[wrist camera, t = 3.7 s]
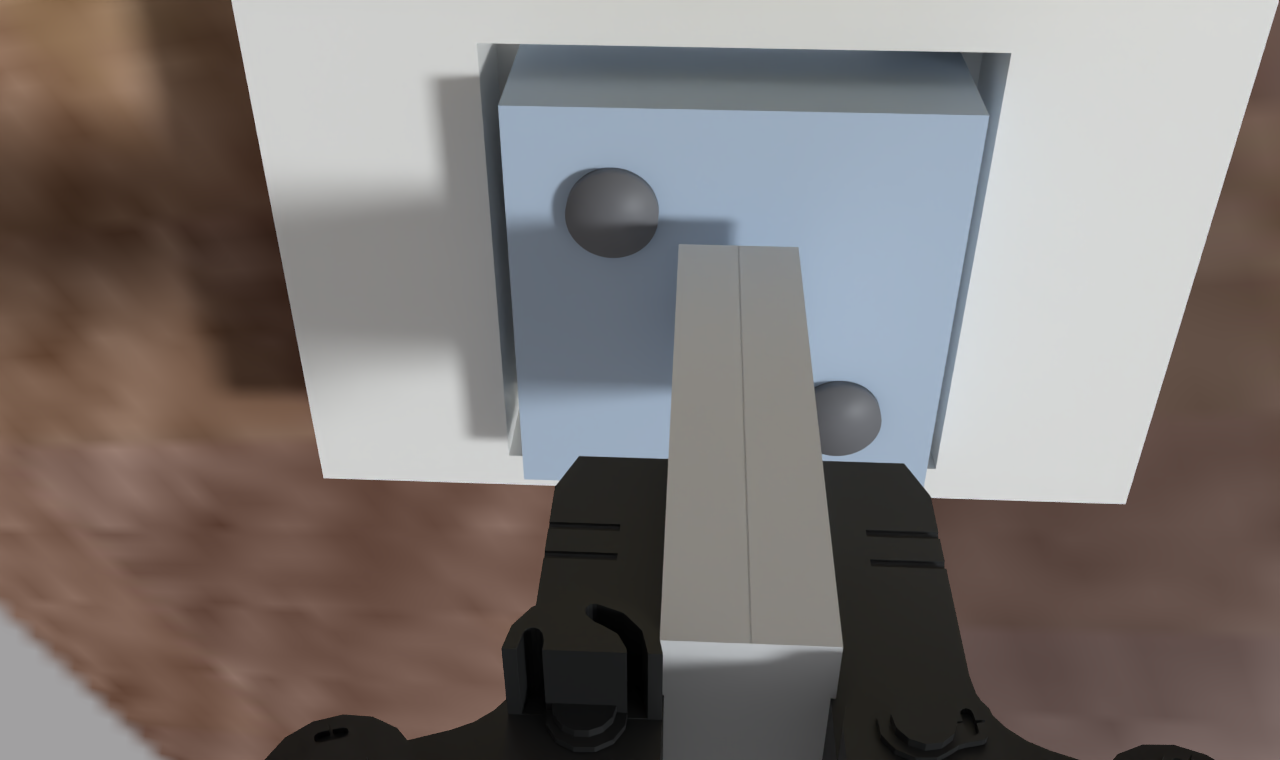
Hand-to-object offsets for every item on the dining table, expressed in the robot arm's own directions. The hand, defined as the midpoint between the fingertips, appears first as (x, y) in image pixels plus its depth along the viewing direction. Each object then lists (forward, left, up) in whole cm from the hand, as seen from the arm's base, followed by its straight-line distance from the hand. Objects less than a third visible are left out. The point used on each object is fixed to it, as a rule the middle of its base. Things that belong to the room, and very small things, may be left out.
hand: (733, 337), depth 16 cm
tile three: (0, 0, -3) cm, 3 cm away
